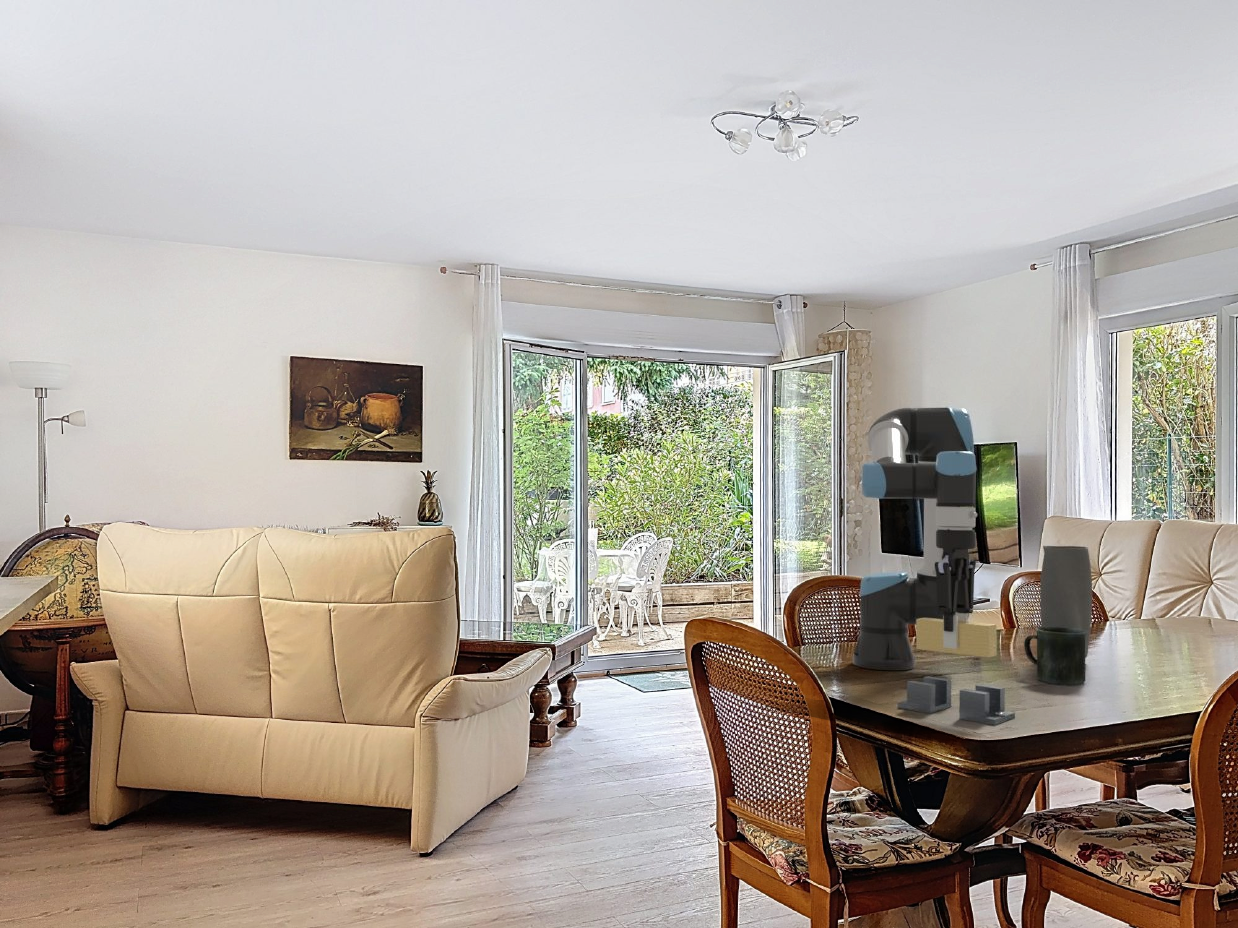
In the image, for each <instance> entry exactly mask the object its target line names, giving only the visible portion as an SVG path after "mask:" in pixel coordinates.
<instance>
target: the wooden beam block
mask: <svg viewBox="0 0 1238 928" xmlns="http://www.w3.org/2000/svg"><path fill="white" fill-rule="evenodd" d="M915 626H916V627H915V629H916V634H915V635H916V642H915V643H916V649H917V650H924V651H931V652H941V653H948V654H949V653H950V654H958V655H966V656H973V657H975V656H976V657H981V658H993V657H996V656H998V655H997V653H998V652H997V651H998V650H997V649H998V648H997V646H998V645H997V641H998V640H997V634H998V633H997V630H998V629H997V623H996V624H994V623H985V622H976V621H975V622H974V621H968V622H965V621H958V649H952V648H944V647H943V619H933V618H920V619H916V625H915Z"/></svg>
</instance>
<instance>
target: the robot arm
mask: <svg viewBox="0 0 1238 928" xmlns="http://www.w3.org/2000/svg"><path fill="white" fill-rule="evenodd" d="M971 421H972V420H971V418H970V413H969V411H968V410H967V409H965V408H961V407H949V406H947V407H903V408H897V409H894V410H891V411H889V412H887V413H884V414H883V415H881V416H880V417H879V418H877V419H876V420H875V421H874V422H873V423H872V424H871V426H870V427H869V430H868V433H867V446H868V448H869V450H870V451H871V461H870V462H866V463H863V465H862V469H861V472H862V473H861V493H862V495H863V496H864V497H865V498H869V499H870V498H873V499H878V500H882V499H919V500H920V499H923V565H922V566H920V567H919V568H918V569H917V570H916V572H917V573H916V575H917V576H916V577H910V576H909V573H908V572H906V571H892V572H891V571H889V572H882V573H881V572H880V573H873V574H869V575H865V576H864V577H863V578H862V579H861V581H860V588H859V589H860V590H859V591H860V592H859V594H858V595H859V597H860V601H859V603H860V608H859V609H860V610H859V611H860V612H859V613H860V615H859V635H858V638H857V642H856V645H855V646H854V647H855V648H854V650H853V653H852V665H854V666H856V667H859V668H864V669H869V670H876V671H877V670H879V671H906V670H912V669H915V668H916V658H915V655H914V651H913V649H912V645H911V642H910V639H909V635H908V634H909V632H908V630H909V629H908V628H909V625H910V626H916V619H920V618H933V619H943V647H944V648H952V649H958V621H965V622H969V617H970V614H973V612H974V598H975V597H974V596H975V590H974V589H975V571H976V570H975V569H976V566H977V561H976V560H975V559H974V560H973V559H970V553H969V550H974V549H976V547H977V546H976V545H977V542H976V541H977V538H976V537H977V535H976V532H975V530H973V528H975V527H976V518H977V517H978V513H977V512H976V511H977V510H976V488H977V486H976V485H977V484H976V483H977V481H976V480H977V478H976V475H977V470H978V469H977V468H978V467H977V464H976V463H977V462H976V455H975V445H974V444H975V441H974V434H973V432H974V431H973V427H972V426H973V425H972V422H971ZM906 455H910V456H914V455H915V456H917V462H907V459H906Z"/></svg>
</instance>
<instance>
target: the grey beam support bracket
mask: <svg viewBox="0 0 1238 928" xmlns="http://www.w3.org/2000/svg"><path fill="white" fill-rule="evenodd" d="M974 688H975V689H967V688H962V689H960V690H959V707H958V708H959V716H958V717H959V720H962V721H963V720H964V721H970V722H975V723H981V724H986V725H993V726H997V725H999V724H1001V723H1004V722H1007V721H1010V720H1012V719H1015V718H1016V716H1015V714H1016V712H1013V711H1008V710H1005V709H1006V707H1005V706H1006V705H1005V704H1006V701H1005V700H1006V699H1005V693H1006V691H1005V690H1006V688H1005V687H1002V686H996V685H989V684H984V683H983V684H981V683H979V684H975V687H974Z"/></svg>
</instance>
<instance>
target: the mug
mask: <svg viewBox="0 0 1238 928" xmlns="http://www.w3.org/2000/svg"><path fill="white" fill-rule="evenodd" d="M1034 630H1035V632H1036V634H1033V635H1027V636H1026V638H1025V639H1024V642H1023V643H1024V644H1023V645H1024V646H1023V647H1024V652H1025V655H1026V657H1027V659H1028V661H1029V662H1031V663H1032V664H1034V665H1035V666H1036V678H1037V679H1038V680H1039V681H1040V682H1044V683H1047V684H1048V683H1049V684H1055V685H1065V686H1067V685H1068V686H1079V685H1083V684H1085V682H1086V658H1085V635H1086V634H1087V631H1085V630H1081V629H1075V628H1066V627H1041V626H1038V627H1035V628H1034ZM1032 639H1033V640H1035V639H1036V658H1035V656H1034V655H1033V653H1032V650H1031V641H1032Z"/></svg>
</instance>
